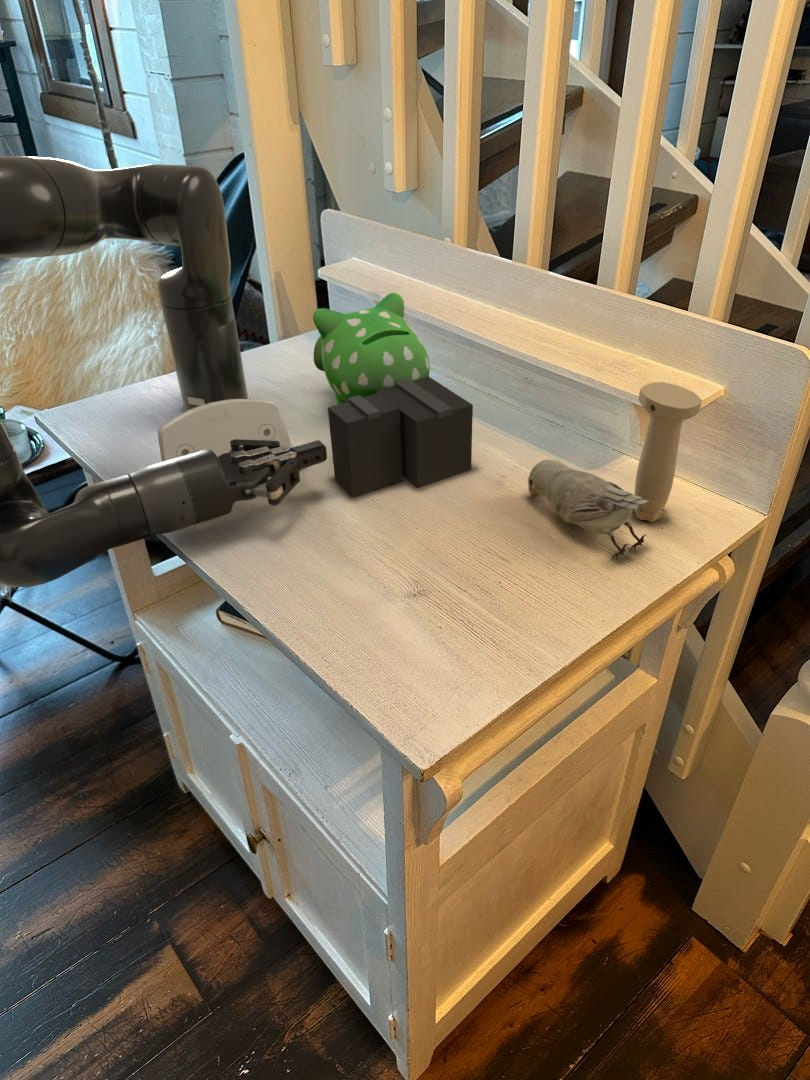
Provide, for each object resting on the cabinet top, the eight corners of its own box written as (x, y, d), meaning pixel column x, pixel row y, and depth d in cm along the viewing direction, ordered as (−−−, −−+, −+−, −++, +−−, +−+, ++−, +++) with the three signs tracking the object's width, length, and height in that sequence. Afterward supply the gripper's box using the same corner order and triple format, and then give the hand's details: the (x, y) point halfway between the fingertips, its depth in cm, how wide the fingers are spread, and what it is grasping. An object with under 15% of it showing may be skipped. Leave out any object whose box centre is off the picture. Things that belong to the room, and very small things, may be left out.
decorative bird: (547, 488, 92) (553, 433, 88) (651, 552, 81) (663, 493, 77) (514, 502, 90) (518, 447, 85) (616, 571, 79) (626, 511, 75)
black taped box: (378, 453, 100) (374, 388, 95) (429, 437, 103) (428, 373, 98) (417, 487, 93) (416, 419, 88) (471, 469, 96) (473, 401, 91)
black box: (334, 479, 95) (327, 403, 89) (383, 463, 98) (379, 389, 92) (353, 497, 92) (346, 420, 86) (402, 481, 94) (400, 405, 88)
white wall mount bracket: (172, 500, 92) (149, 419, 89) (167, 494, 96) (144, 416, 93) (301, 465, 98) (283, 388, 95) (291, 461, 102) (274, 387, 99)
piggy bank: (387, 376, 120) (382, 281, 111) (448, 420, 107) (449, 316, 99) (304, 398, 115) (293, 299, 106) (359, 447, 102) (351, 339, 93)
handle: (653, 535, 84) (678, 412, 75) (612, 508, 88) (630, 389, 79) (684, 521, 86) (711, 400, 77) (642, 496, 90) (663, 378, 81)
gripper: (192, 491, 75) (347, 444, 82) (155, 438, 85) (297, 400, 92) (206, 551, 80) (351, 502, 87) (169, 494, 89) (304, 454, 96)
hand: (323, 449), depth 89 cm, fingers closed
